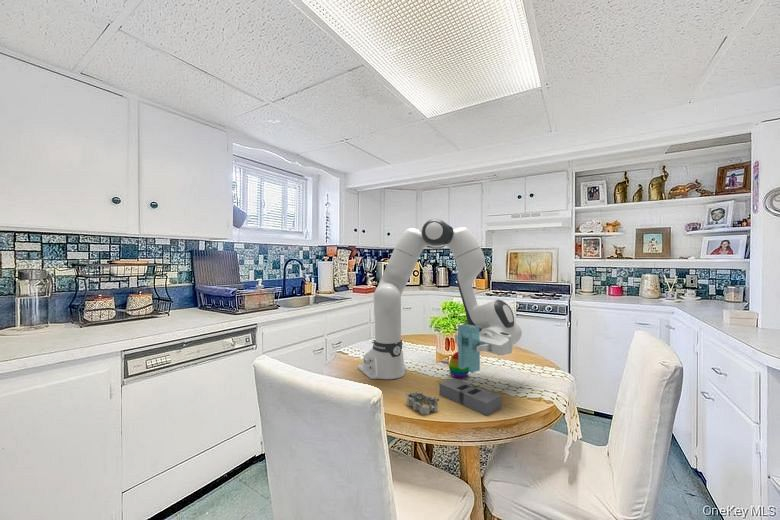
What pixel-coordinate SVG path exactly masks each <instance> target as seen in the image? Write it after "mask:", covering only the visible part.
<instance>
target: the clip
mask: <svg viewBox="0 0 780 520" xmlns="http://www.w3.org/2000/svg"><path fill="white" fill-rule="evenodd" d="M457 333H458V346H457V352H458V368H459V369H464V368H467V367H469V372H468V373H471V374H473V373H476V372H479V371H480V370H481V367H480V366H481V362H480V361H481V360H480V359H481V356H480V353H481V351H480V352H477V351H475V350H474V349H475V348H474V347H475V346H476V345H480V335H479V333H480V332H479V326H474V325H469V324H468V323H463V324H458V325H457Z"/></svg>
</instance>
